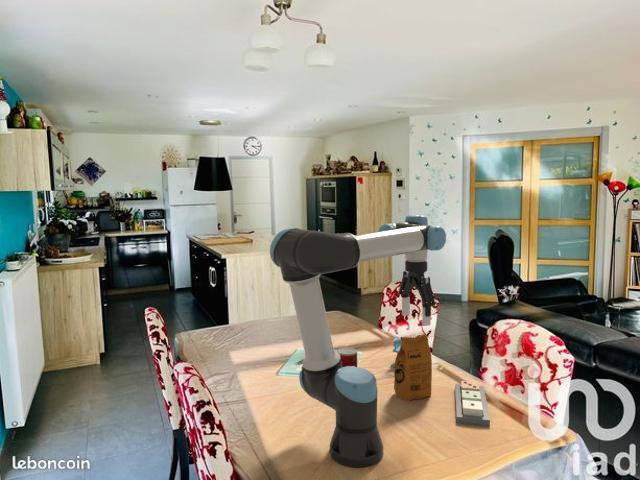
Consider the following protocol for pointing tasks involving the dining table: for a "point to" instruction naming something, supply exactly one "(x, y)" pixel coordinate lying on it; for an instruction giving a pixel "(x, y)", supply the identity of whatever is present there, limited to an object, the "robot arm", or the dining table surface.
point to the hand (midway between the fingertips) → (415, 320)
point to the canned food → (348, 356)
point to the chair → (396, 347)
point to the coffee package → (413, 368)
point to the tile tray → (466, 418)
